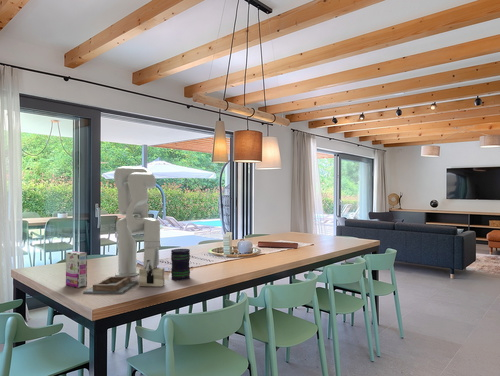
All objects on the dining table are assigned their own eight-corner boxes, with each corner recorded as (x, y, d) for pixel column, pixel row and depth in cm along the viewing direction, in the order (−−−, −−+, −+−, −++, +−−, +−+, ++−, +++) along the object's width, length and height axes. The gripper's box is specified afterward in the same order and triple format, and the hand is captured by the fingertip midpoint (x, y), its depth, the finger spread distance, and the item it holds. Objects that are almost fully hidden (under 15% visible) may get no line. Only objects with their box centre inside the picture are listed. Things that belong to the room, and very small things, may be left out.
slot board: (103, 282, 182) (103, 275, 182) (138, 282, 181) (138, 275, 181) (83, 293, 162) (83, 285, 162) (122, 293, 161) (122, 286, 161)
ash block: (142, 283, 178) (142, 267, 178) (164, 283, 177) (164, 267, 177) (139, 286, 173) (139, 269, 173) (161, 286, 173) (161, 269, 173)
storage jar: (172, 276, 195) (172, 248, 195) (190, 275, 196) (190, 248, 196) (169, 280, 185) (169, 251, 185) (189, 280, 186) (188, 251, 186)
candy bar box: (87, 286, 176) (87, 252, 176) (78, 288, 172) (78, 254, 172) (74, 283, 182) (74, 250, 182) (65, 285, 178) (65, 252, 178)
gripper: (150, 242, 184) (150, 277, 184) (138, 247, 167) (138, 286, 167) (164, 242, 183) (164, 277, 183) (154, 247, 167) (154, 286, 166)
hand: (151, 281), depth 175 cm, fingers closed on ash block, 4 cm apart
